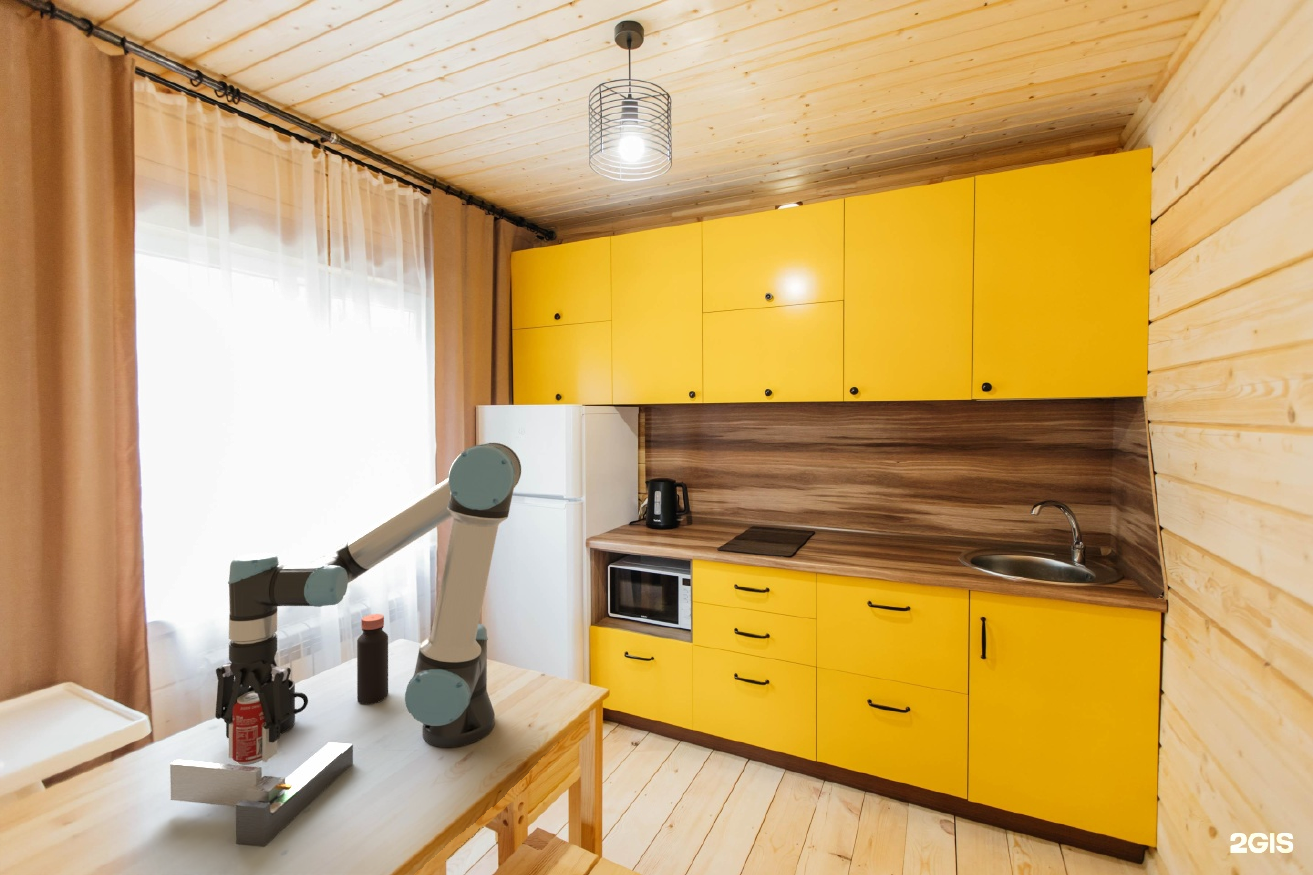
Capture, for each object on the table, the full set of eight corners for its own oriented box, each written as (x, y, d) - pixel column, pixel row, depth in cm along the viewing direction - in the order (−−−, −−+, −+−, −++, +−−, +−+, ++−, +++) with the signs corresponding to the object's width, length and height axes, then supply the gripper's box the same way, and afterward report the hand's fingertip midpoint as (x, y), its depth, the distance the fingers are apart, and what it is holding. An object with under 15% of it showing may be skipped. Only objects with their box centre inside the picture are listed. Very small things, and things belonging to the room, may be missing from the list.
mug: (304, 732, 123) (304, 691, 123) (238, 744, 118) (237, 702, 118) (311, 711, 132) (311, 673, 132) (249, 721, 127) (248, 682, 127)
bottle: (353, 697, 139) (353, 616, 138) (383, 688, 144) (383, 610, 143) (361, 707, 134) (361, 624, 133) (392, 698, 138) (391, 618, 138)
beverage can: (266, 744, 113) (267, 684, 112) (277, 756, 109) (278, 695, 108) (228, 758, 108) (228, 696, 107) (238, 772, 104) (238, 707, 103)
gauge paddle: (298, 801, 98) (297, 765, 98) (282, 816, 94) (281, 779, 94) (183, 790, 100) (183, 755, 100) (163, 804, 97) (163, 767, 96)
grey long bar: (352, 763, 113) (352, 732, 112) (264, 846, 91) (264, 807, 90) (329, 761, 113) (329, 730, 113) (236, 843, 91) (235, 804, 91)
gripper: (314, 632, 110) (313, 748, 111) (224, 625, 112) (224, 739, 113) (285, 648, 103) (284, 772, 103) (189, 640, 105) (189, 762, 106)
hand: (253, 755), depth 108 cm, fingers closed on beverage can, 6 cm apart
